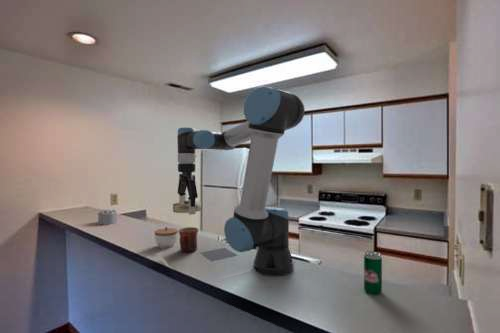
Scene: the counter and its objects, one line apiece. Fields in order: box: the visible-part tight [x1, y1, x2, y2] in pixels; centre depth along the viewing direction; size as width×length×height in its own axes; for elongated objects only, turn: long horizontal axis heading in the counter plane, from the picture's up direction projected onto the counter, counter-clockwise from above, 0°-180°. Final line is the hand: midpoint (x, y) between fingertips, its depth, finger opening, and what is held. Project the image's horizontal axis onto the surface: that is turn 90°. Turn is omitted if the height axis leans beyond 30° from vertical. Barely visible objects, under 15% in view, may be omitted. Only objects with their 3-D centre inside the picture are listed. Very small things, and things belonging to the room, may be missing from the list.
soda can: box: [363, 250, 383, 296], centre depth 83 cm, size 5×5×12 cm
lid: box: [172, 200, 202, 214], centre depth 119 cm, size 12×12×4 cm
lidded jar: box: [154, 226, 179, 249], centre depth 129 cm, size 11×11×9 cm
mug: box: [178, 226, 199, 254], centre depth 119 cm, size 12×9×10 cm
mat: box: [200, 247, 238, 262], centre depth 115 cm, size 12×12×1 cm
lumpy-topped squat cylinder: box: [97, 209, 118, 226], centre depth 180 cm, size 10×13×9 cm
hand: (187, 211), depth 119 cm, fingers closed on lid, 12 cm apart
